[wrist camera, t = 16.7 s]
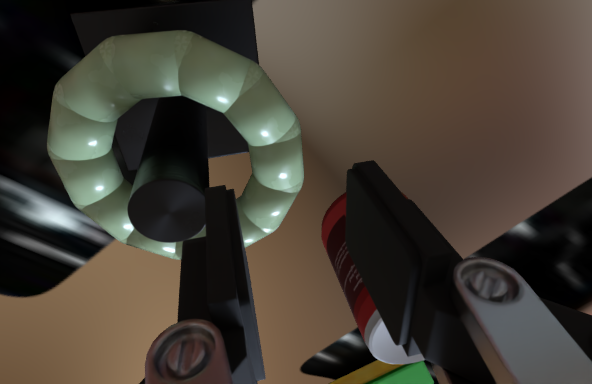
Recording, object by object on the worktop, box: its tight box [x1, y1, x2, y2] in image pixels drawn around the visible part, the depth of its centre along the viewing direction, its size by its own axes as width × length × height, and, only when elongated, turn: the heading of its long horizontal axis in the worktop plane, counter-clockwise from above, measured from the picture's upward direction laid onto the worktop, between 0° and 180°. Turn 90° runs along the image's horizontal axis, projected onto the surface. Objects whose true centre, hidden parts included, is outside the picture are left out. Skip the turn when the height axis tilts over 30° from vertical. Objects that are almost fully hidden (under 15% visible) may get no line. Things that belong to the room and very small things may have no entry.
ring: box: [47, 30, 304, 259], centre depth 14 cm, size 9×9×2 cm
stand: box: [70, 0, 259, 243], centre depth 16 cm, size 9×9×13 cm
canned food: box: [322, 191, 425, 364], centre depth 26 cm, size 8×8×11 cm
